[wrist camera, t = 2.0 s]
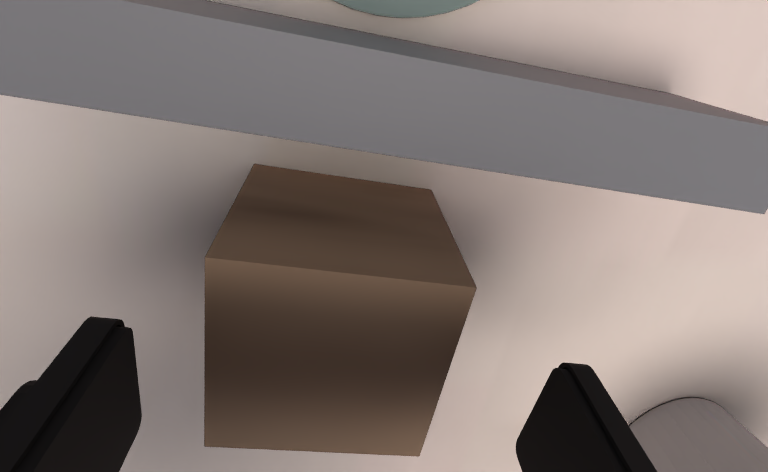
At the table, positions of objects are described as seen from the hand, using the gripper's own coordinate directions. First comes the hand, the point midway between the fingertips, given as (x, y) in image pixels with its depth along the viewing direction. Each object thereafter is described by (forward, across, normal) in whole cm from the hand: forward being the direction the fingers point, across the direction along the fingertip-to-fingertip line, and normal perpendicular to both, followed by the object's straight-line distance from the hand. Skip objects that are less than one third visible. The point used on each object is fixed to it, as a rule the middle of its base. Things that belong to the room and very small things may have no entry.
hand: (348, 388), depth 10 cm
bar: (+7, 0, -6) cm, 9 cm away
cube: (+7, 0, +1) cm, 7 cm away
